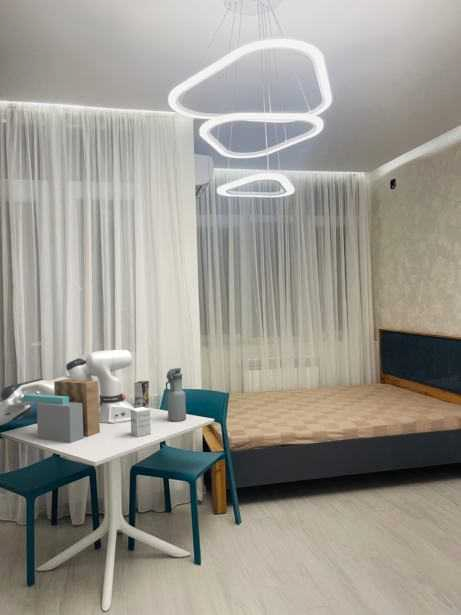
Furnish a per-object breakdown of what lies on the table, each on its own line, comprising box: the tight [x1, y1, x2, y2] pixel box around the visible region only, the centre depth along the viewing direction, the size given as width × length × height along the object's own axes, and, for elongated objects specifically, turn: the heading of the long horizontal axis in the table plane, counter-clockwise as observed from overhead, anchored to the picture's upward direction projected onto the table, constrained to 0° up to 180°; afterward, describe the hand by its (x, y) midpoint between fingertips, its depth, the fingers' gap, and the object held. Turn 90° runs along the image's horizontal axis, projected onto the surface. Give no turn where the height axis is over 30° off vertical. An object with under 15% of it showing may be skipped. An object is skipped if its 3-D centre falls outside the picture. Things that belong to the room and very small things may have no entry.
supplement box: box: [130, 407, 152, 438], centre depth 224 cm, size 7×7×13 cm
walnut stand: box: [54, 379, 101, 438], centre depth 232 cm, size 22×8×26 cm, turn 63°
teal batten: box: [22, 393, 69, 404], centre depth 227 cm, size 28×4×3 cm, turn 64°
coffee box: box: [133, 380, 150, 408], centre depth 287 cm, size 9×6×16 cm
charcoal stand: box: [36, 402, 84, 444], centre depth 222 cm, size 22×8×17 cm, turn 63°
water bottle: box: [165, 367, 187, 423], centre depth 252 cm, size 10×10×28 cm
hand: (30, 394), depth 231 cm, fingers open, 8 cm apart
